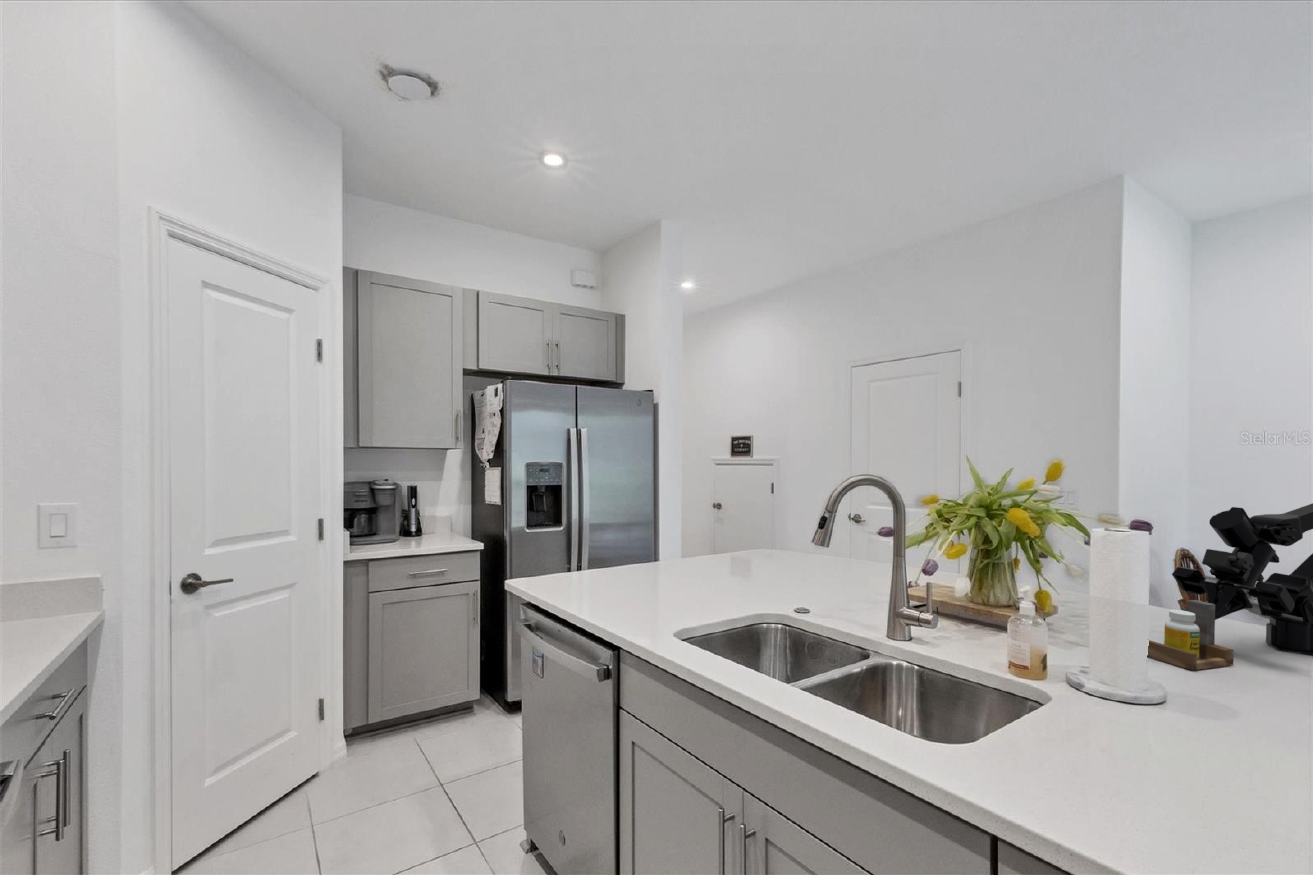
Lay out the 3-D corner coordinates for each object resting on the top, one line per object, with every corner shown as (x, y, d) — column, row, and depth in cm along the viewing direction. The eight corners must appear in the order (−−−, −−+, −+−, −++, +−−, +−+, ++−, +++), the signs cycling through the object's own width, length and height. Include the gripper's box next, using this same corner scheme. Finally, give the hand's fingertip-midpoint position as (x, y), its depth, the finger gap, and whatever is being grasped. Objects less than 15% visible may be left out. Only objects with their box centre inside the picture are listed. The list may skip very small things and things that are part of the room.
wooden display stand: (1176, 648, 130) (1177, 596, 130) (1233, 664, 120) (1234, 608, 120) (1136, 652, 126) (1137, 599, 126) (1192, 670, 116) (1193, 612, 116)
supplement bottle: (1169, 653, 126) (1170, 607, 126) (1203, 662, 122) (1204, 613, 122) (1159, 658, 123) (1160, 610, 124) (1193, 666, 119) (1194, 617, 119)
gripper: (1178, 530, 136) (1142, 581, 133) (1287, 544, 118) (1248, 604, 115) (1201, 564, 138) (1166, 616, 135) (1311, 583, 121) (1274, 643, 117)
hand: (1210, 618), depth 125 cm, fingers closed
